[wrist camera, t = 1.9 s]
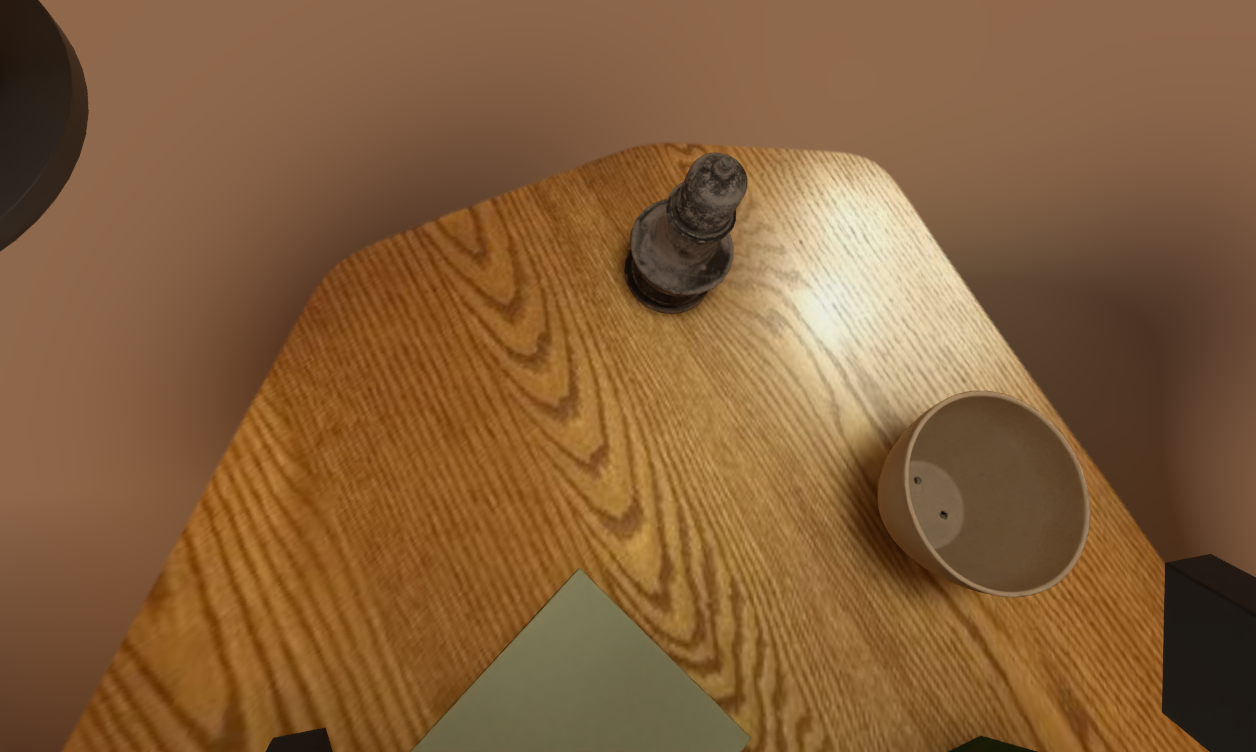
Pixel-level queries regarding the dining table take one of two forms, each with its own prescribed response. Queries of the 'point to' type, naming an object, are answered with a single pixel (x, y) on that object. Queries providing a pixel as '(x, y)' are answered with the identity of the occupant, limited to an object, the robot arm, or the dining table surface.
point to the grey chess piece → (687, 237)
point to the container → (989, 746)
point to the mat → (584, 690)
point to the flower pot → (986, 495)
